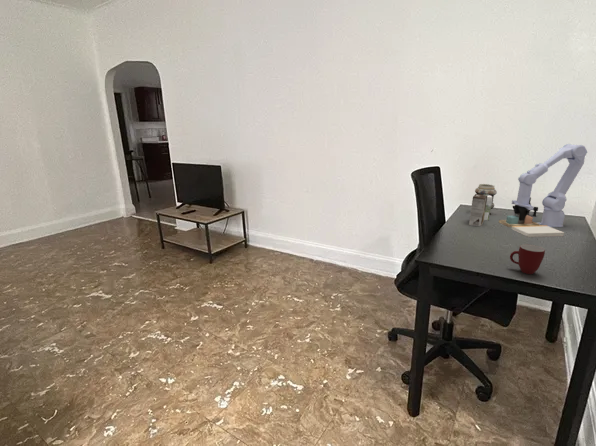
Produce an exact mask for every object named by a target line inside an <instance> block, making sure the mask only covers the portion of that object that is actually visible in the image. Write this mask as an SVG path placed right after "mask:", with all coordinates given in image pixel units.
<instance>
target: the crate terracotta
mask: <svg viewBox="0 0 596 446" xmlns="http://www.w3.org/2000/svg"><path fill="white" fill-rule="evenodd" d="M533 219H534V217H533V216H531V215H526V217H525V221H524V224H532V221H533Z"/></svg>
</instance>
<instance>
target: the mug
mask: <svg viewBox="0 0 596 446" xmlns="http://www.w3.org/2000/svg"><path fill="white" fill-rule="evenodd" d="M545 253H546V249H545V248H544V247H542V246H539V245H534V244H520V245H519V247H518V250H514V251H513V252H511V253H510V255H509V259H510V260H509V261H511V262H512V263H513V264H516V265H518V267H519V269H520V272H521V273H523V274H525V273H526V275H533V274H535V273H536V272H537V271H538V270H539V268H540V266H541V264H542V262H543V260H544V257H545ZM515 254H516V255H517V256H518V261H516V260H515V259H514V258H513V257H514V255H515Z"/></svg>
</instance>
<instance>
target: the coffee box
mask: <svg viewBox="0 0 596 446" xmlns="http://www.w3.org/2000/svg"><path fill="white" fill-rule="evenodd" d="M487 196H488V195H481V194H476V193H474V195H473V196H472V201H471V207H470V214H469V221H468V225H469V226H473V227H476V226H477V227H478V226H479V227H482V225H483V224H484V221H485V220H484V216H485V209H486V203H487Z"/></svg>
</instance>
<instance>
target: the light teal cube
mask: <svg viewBox="0 0 596 446" xmlns="http://www.w3.org/2000/svg"><path fill="white" fill-rule="evenodd" d="M505 220H506V223H508V224H518V220H519V217H516V216H515V215H507V216H506V219H505Z"/></svg>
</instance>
